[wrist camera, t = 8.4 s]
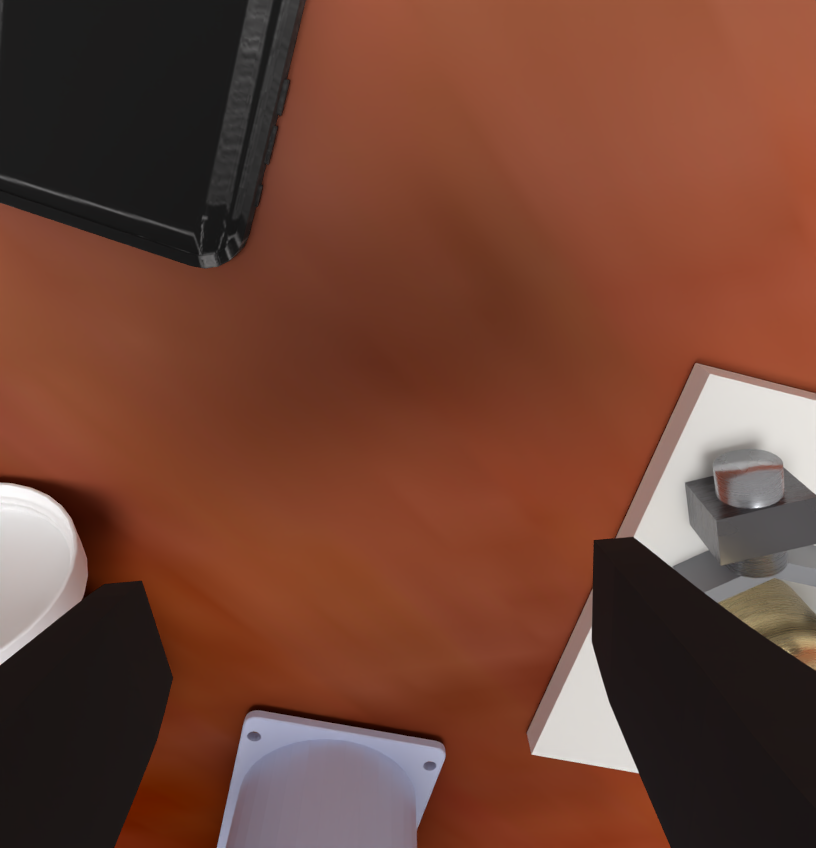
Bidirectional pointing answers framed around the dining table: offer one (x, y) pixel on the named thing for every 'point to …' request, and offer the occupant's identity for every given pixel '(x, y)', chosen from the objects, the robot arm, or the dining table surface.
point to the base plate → (681, 540)
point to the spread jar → (36, 565)
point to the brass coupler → (778, 617)
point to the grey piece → (751, 512)
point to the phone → (144, 116)
